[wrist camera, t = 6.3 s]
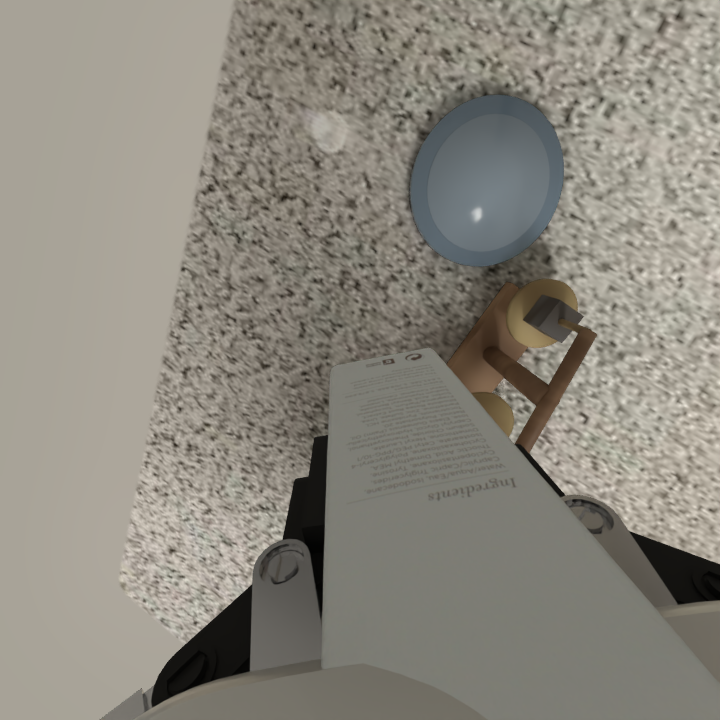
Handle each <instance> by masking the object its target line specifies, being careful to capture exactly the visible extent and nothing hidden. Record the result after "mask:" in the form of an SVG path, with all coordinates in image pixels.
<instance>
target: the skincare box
mask: <svg viewBox="0 0 720 720" xmlns="http://www.w3.org/2000/svg"><path fill="white" fill-rule="evenodd" d="M362 663H364V664H368V665H371V666H375V667H378V668H382V669H385V670H388V671H392V672H395V673H399V674H402V675H404V676H407V677H409V678H412V679H415V680H417V681H420V682H423V683H426V684H428V685H431V686H433V687H435V688H437V689H439V690H441V691H443V692H445V693H447V694H449V695H451V696H453V697H454V698H456V699H458V700H459V701H461V702H463V703H464V704H466V705H468V706H469V707H471V708H472V709H474V710H475V711H477V712H478V713H479V714H481V715H482V716H484V717H485V718H486V719H488V720H720V684H719V682H718V681H717V680H716V679H715V678H714V677H713V675H712V674H711V673H710V672H709V671H708V669H707V668H706V667H705V666H704V665H703V664H702V662H701V661H700V660H699V659H698V658H697V656H696V655H695V654H694V653H693V652H692V650H691V649H690V648H689V647H688V646H687V645H686V643H685V642H684V641H683V640H682V639H681V638H680V636H679V635H678V634H677V633H676V632H675V631H674V629H673V628H672V627H671V626H670V625H669V624H668V622H667V621H666V620H665V619H664V618H663V616H662V615H661V614H660V613H659V612H658V611H657V610H656V608H655V607H654V606H653V605H652V604H651V603H650V601H649V600H648V599H647V598H646V597H645V596H644V594H643V593H642V592H641V591H640V590H639V589H638V587H637V586H636V585H635V584H634V583H633V582H632V580H631V579H630V578H629V577H628V576H627V575H626V574H625V572H624V571H623V570H622V569H621V568H620V567H619V566H618V564H617V563H616V562H615V561H614V560H613V559H612V557H611V556H610V555H609V554H608V553H607V552H606V550H605V549H604V548H603V547H602V546H601V544H600V543H599V542H598V541H597V540H596V539H595V537H594V536H593V535H592V534H591V533H590V532H589V531H588V529H587V528H586V527H585V526H584V525H583V524H582V523H581V521H580V520H579V519H578V518H577V517H576V516H575V514H574V513H573V512H572V511H571V510H570V508H569V507H568V506H567V505H566V504H565V503H564V501H563V500H562V499H561V498H560V497H559V496H558V494H557V493H556V492H555V491H554V490H553V489H552V488H551V486H550V485H549V484H548V483H547V482H546V481H545V480H544V478H543V477H542V476H541V475H540V474H539V473H538V472H537V470H536V469H535V468H534V467H533V466H532V465H531V463H530V462H529V461H528V460H527V459H526V457H525V456H524V455H523V454H522V452H521V451H520V450H519V449H518V448H517V447H516V446H515V444H514V443H513V442H512V441H511V440H510V439H509V437H508V436H507V435H506V434H505V433H504V432H503V430H502V429H501V428H500V427H499V426H498V425H497V424H496V422H495V421H494V420H493V419H492V417H491V416H490V415H489V414H488V413H487V412H486V410H485V409H484V408H483V407H482V406H481V404H480V403H479V402H478V401H477V400H476V399H475V397H474V396H473V395H472V394H471V393H470V392H469V390H468V389H467V388H466V387H465V386H464V384H463V383H462V382H461V381H460V380H459V378H458V377H457V376H456V375H455V374H454V373H453V371H452V370H451V369H450V368H449V367H448V366H447V365H446V363H445V362H444V361H443V360H442V359H441V358H440V357H439V355H438V354H437V353H436V352H435V351H434V350H433V349H432V348H424V349H419V350H414V351H409V352H404V353H397V354H392V355H387V356H382V357H377V358H371V359H365V360H360V361H355V362H350V363H345V364H339V365H336V366H334V367H333V368H332V369H331V371H330V384H329V425H328V449H327V476H326V505H325V541H324V569H323V611H322V654H321V667H322V668H323V669H329V668H336V667H343V666H349V665H355V664H362Z"/></svg>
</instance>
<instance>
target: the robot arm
mask: <svg viewBox="0 0 720 720" xmlns="http://www.w3.org/2000/svg"><path fill="white" fill-rule="evenodd" d="M486 412H487V411H486ZM496 424H497V423H496ZM515 446H516V447H517V448H518V449H519V450H520V451H521V452H522V454H523V455H524V456H525V457H526V459H527V460H528V461H529V462H530V463H531V465H532V466H533V467H534V468H535V469H536V470H537V472H538V473H539V474H540V475H541V476H542V477H543V478H544V480H545V481H546V482H547V483H548V484H549V485H550V486H551V488H552V489H553V490H554V491H555V492H556V493H557V494H558V496H559V497H560V498H561V499H562V500H563V501H564V503H565V504H566V505H567V506H568V507H569V508H570V510H571V511H572V512H573V513H574V514H575V516H576V517H577V518H578V519H579V520H580V521H581V523H582V524H583V525H584V526H585V527H586V528H587V529H588V531H589V532H590V533H591V534H592V535H593V536H594V537H595V539H596V540H597V541H598V542H599V543H600V544H601V546H602V547H603V548H604V549H605V550H606V552H607V553H608V554H609V555H610V556H611V557H612V559H613V560H614V561H615V562H616V563H617V564H618V566H619V567H620V568H621V569H622V570H623V571H624V572H625V574H626V575H627V576H628V577H629V578H630V579H631V580H632V582H633V583H634V584H635V585H636V586H637V587H638V589H639V590H640V591H641V592H642V593H643V594H644V596H645V597H646V598H647V599H648V600H649V601H650V603H651V604H652V605H653V606H654V607H655V608H656V610H657V611H658V612H659V613H660V614H661V615H662V616H663V618H664V619H665V620H666V621H667V622H668V624H669V625H670V626H671V627H672V628H673V629H674V631H675V632H676V633H677V634H678V635H679V636H680V638H681V639H682V640H683V641H684V642H685V643H686V645H687V646H688V647H689V648H690V649H691V650H692V652H693V653H694V654H695V655H696V656H697V658H698V659H699V660H700V661H701V662H702V664H703V665H704V666H705V667H706V668H707V669H708V671H709V672H710V673H711V674H712V675H713V677H714V678H715V679H716V680H717V681H718V682H719V684H720V564H717V563H715V562H712V561H709V560H706V559H704V558H701V557H698V556H695V555H693V554H690V553H687V552H685V551H682V550H679V549H676V548H674V547H671V546H668V545H665V544H663V543H660V542H657V541H655V540H652V539H649V538H646V537H644V536H641V535H638V534H635V533H633V532H630V531H628V529H627V528H626V526H625V525H624V523H623V522H622V520H621V519H620V517H619V516H618V515H617V514H616V513H615V511H614V510H613V509H612V508H610V507H609V506H607V505H606V504H605V503H603V502H601V501H599V500H596V499H594V498H591V497H587V496H583V495H566V496H565V494H564V493H563V492H562V491H561V490H560V489H559V487H558V486H557V485H556V484H555V483H554V482H553V481H552V479H551V478H550V477H549V476H548V475H547V474H546V472H545V471H544V470H543V469H542V468H541V467H540V466H539V464H538V463H537V462H536V461H535V460H534V459H533V457H532V456H531V455H530V454H529V453H528V452H527V451H526V449H525V448H524V447H523V446H522V445H521V444H515ZM327 449H328V435H326V436H319V437H315V438H314V443H313V450H312V457H311V464H310V471H309V477H303V478H297V479H295V481H294V485H293V490H292V495H291V500H290V505H289V510H288V515H287V520H286V525H285V530H284V535H283V540H281V541H279V542H276V543H274V544H272V545H271V546H269V547H268V548H267V549H265V550H264V551H263V553H262V554H261V555H260V556H259V557H258V559H257V561H256V563H255V565H254V569H253V581H252V585H251V586H250V587H249V588H248V589H247V590H245V591H244V592H243V593H242V594H241V595H240V596H239V597H238V598H237V599H235V600H234V601H233V602H232V603H231V604H230V605H229V606H228V607H227V608H225V609H224V610H223V611H222V612H221V613H220V614H219V615H218V616H217V617H215V618H214V619H213V620H212V621H211V622H210V623H209V624H208V625H207V626H205V627H204V628H203V629H202V630H201V631H200V632H199V633H198V634H197V635H195V636H194V637H193V638H192V639H191V640H190V641H189V642H188V643H187V644H185V645H184V646H183V647H182V648H181V649H180V650H179V651H178V652H177V653H176V654H175V655H174V656H173V657H172V658H171V659H170V660H169V661H168V662H167V664H166V665H165V666H164V668H163V669H162V671H161V673H160V674H159V676H158V678H157V681H156V683H155V685H154V686H153V687H151V688H150V689H149V690H148V691H146V692H145V693H144V691H143V690H142V688H141V689H140V690H138V691H137V692H136V693H134V694H133V695H132V696H130V697H129V698H128V699H127V700H125V701H124V702H122V703H121V704H120V705H118V706H117V707H116V708H114V709H113V710H112V711H110V712H109V713H108V714H106V715H105V716H104V717H102V718H101V719H100V720H488V719H486V718H485V717H484V716H482V715H481V714H479V713H478V712H477V711H475V710H474V709H472V708H471V707H469V706H468V705H466V704H464V703H463V702H461V701H459V700H458V699H456V698H454V697H453V696H451V695H449V694H447V693H445V692H443V691H441V690H439V689H437V688H435V687H433V686H431V685H428V684H426V683H423V682H420V681H417V680H415V679H412V678H409V677H407V676H404V675H402V674H399V673H395V672H392V671H388V670H385V669H382V668H378V667H375V666H371V665H368V664H364V663H362V664H355V665H349V666H343V667H336V668H329V669H323V668H322V667H321V654H322V611H323V569H324V541H325V505H326V476H327Z"/></svg>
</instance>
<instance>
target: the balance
mask: <svg viewBox="0 0 720 720" xmlns="http://www.w3.org/2000/svg"><path fill="white" fill-rule="evenodd" d="M577 310H578V304H577V299H576V296H575V294H574V292H573V290H572V289H571V288H570V287H569V286H568V285H567V284H565V283H563V282H561V281H557V280H553V279H539V280H535V281H532V282H530V283H528V284H526V285H525V286H523V287H522V288H521V289H520V288H518V287H517V286H515V285H514V284H512V283H509V282H506V283H505V285H504V286H503V287H502V289H501V290H500V291H499V293H498V294H497V295H496V297H495V298H494V300H493V301H492V302H491V304H490V305H489V306H488V308H487V309H486V311H485V312H484V313H483V315H482V316H481V317H480V319H479V320H478V322H477V323H476V324H475V326H474V327H473V328H472V330H471V331H470V332H469V334H468V335H467V337H466V338H465V339H464V341H463V342H462V343H461V345H460V346H459V348H458V349H457V350H456V352H455V353H454V354H453V356H452V357H451V359H450V360H449V361H448V363H447V364H446V365H447V366H448V367H449V368H450V369H451V370H452V371H453V373H454V374H455V375H456V376H457V377H458V378H459V380H460V381H461V382H462V383H463V384H464V386H465V387H466V388H467V389H468V390H469V392H470V393H471V394H472V395H473V396H474V397H475V399H476V400H477V401H478V402H479V403H480V404H481V406H482V407H483V408H484V409H485V410H486V411H487V413H488V414H489V415H490V416H491V417H492V419H493V420H494V421H495V422H496V423H497V425H498V426H499V427H500V428H501V429H502V430H503V432H504V433H505V434H506V435H507V436H508V437H509V436H510V434H511V432H512V429H513V425H514V416H513V412H512V410H511V408H510V406H509V405H508V404H507V403H506V402H505V401H504V400H503V399H502V398H501V397H499V396H498V395H496V394H493V393H492V392H493V390H494V389H495V388H496V387H497V385H498V384H499V383H500V382H501V380H502V379H503V378H505V379H506V380H507V381H509V382H510V383H511V384H512V385H513V386H514V387H515V388H517V389H518V390H519V391H520V392H521V393H522V394H523V395H524V396H526V397H527V398H528V399H529V400H530V401H531V402H532V403H534V404H535V405H536V408H535V410H534V411H533V413H532V415H531V417H530V418H529V420H528V422H527V424H526V425H525V427H524V429H523V431H522V432H521V434H520V436H519V437H518V439H517V441H516V443H515V444H521V445H522V446H523V447H524V448H525V449H526V451H527V452H528V453H530V451H531V449H532V447H533V446H534V444H535V442H536V440H537V439H538V437H539V435H540V433H541V432H542V430H543V428H544V427H545V425H546V423H547V421H548V420H549V418H550V416H551V414H552V413H553V411H554V409H555V407H556V406H557V405H558V404H559V402H560V399H561V397H562V395H563V393H564V392H565V390H566V388H567V387H568V385H569V383H570V381H571V380H572V378H573V376H574V374H575V373H576V371H577V369H578V367H579V366H580V364H581V362H582V360H583V359H584V357H585V355H586V354H587V352H588V350H589V348H590V347H591V345H592V343H593V341H594V340H595V338H596V336H597V334H596V333H594V332H593V331H592V330H591V329H588V328H586V327H583V326H580V325H578V323H579V322H580V321H581V319H582V318H583V317H584V316H583V315H581V314H580V313H578V312H577ZM572 331H575V332H577V333H578V335H577V336H576V338H575V340H574V342H573V343H572V345H571V347H570V349H569V350H568V352H567V354H566V356H565V357H564V359H563V361H562V363H561V364H560V366H559V368H558V370H557V371H556V373H555V375H554V377H553V378H552V380H551V382H550V383H549V385H548V384H547V383H545V382H544V381H542V380H541V379H540V378H538V377H537V376H536V375H534V374H533V373H531V372H530V371H529V370H527V369H526V368H525V367H523V366H522V365H520V364H519V363H518V362H517V360H518V359H519V358H520V357H521V355H522V354H523V353H524V351H525V350H526V349H527V348H528V347H533V348H541V347H546V346H549V345H551V344H554V343H555V342H557V341H559V342H561V343H562V342H563V341H564V340H565V339H566V338H567V336H568V335H569V334H570V333H571V332H572Z"/></svg>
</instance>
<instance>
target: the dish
mask: <svg viewBox="0 0 720 720" xmlns="http://www.w3.org/2000/svg"><path fill="white" fill-rule="evenodd" d="M563 177H564V162H563V154H562V150H561V146H560V142H559V140H558V137H557V135H556V132H555V130H554V129H553V127H552V125H551V124H550V122H549V121H548V120H547V118H546V117H545V116H544V115H543V114H542V113H541V112H540V111H539V110H538V109H537V108H536V107H534V106H532V105H531V104H529V103H528V102H526V101H524V100H521V99H519V98H516V97H512V96H508V95H487V96H482V97H478V98H475V99H472V100H470V101H467V102H465V103H463V104H462V105H460V106H458V107H456V108H455V109H453V110H452V111H451V112H450V113H448V114H447V115H446V116H445V117H444V118H443V119H442V120H441V121H440V122H439V123H438V124H437V125H436V126H435V127H434V128H433V130H432V131H431V132H430V134H429V135H428V136H427V137H426V139H425V141H424V142H423V144H422V146H421V148H420V150H419V152H418V154H417V156H416V159H415V162H414V165H413V168H412V173H411V178H410V188H409V196H410V206H411V212H412V216H413V219H414V222H415V225H416V227H417V229H418V231H419V233H420V235H421V236H422V238H423V239H424V240H425V242H426V243H427V244H428V245H429V246H430V247H431V248H432V249H433V250H434V251H435V252H436V253H438V254H439V255H440V256H442V257H444V258H446V259H448V260H450V261H452V262H455V263H458V264H462V265H468V266H490V265H494V264H498V263H501V262H504V261H507V260H509V259H511V258H513V257H515V256H516V255H518V254H519V253H521V252H522V251H524V250H525V249H526V248H527V247H529V246H530V245H531V244H532V243H533V242H534V241H535V240H536V239H537V238H538V237H539V236H540V234H541V233H542V232H543V231H544V229H545V228H546V226H547V225H548V223H549V221H550V220H551V218H552V216H553V214H554V212H555V210H556V207H557V204H558V202H559V199H560V195H561V191H562V186H563Z"/></svg>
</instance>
